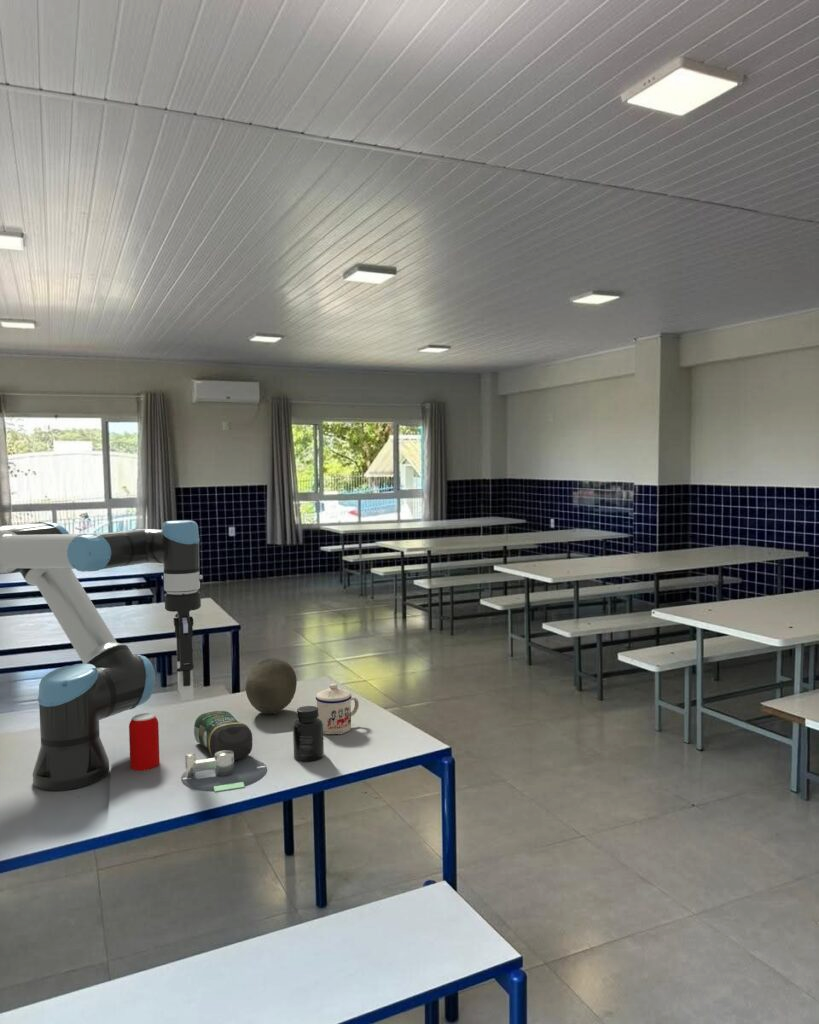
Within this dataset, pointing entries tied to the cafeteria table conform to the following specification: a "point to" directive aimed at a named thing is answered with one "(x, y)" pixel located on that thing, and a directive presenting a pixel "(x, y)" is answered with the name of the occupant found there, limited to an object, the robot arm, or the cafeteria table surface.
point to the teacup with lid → (335, 709)
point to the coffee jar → (223, 734)
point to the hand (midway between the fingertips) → (185, 694)
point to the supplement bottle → (308, 735)
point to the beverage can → (144, 742)
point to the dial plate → (227, 777)
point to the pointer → (211, 764)
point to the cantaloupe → (271, 685)
